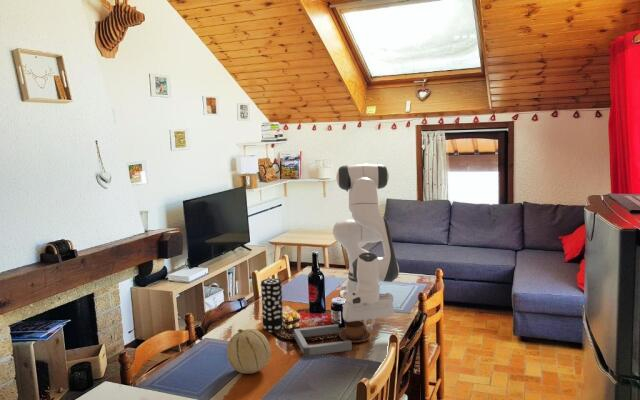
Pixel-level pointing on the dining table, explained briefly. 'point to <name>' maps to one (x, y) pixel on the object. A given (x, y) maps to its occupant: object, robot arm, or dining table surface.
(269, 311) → the white-spotted black cylinder
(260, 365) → the cantaloupe
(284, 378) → the dining table surface
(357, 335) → the cup and saucer
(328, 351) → the grey u-shaped bar
